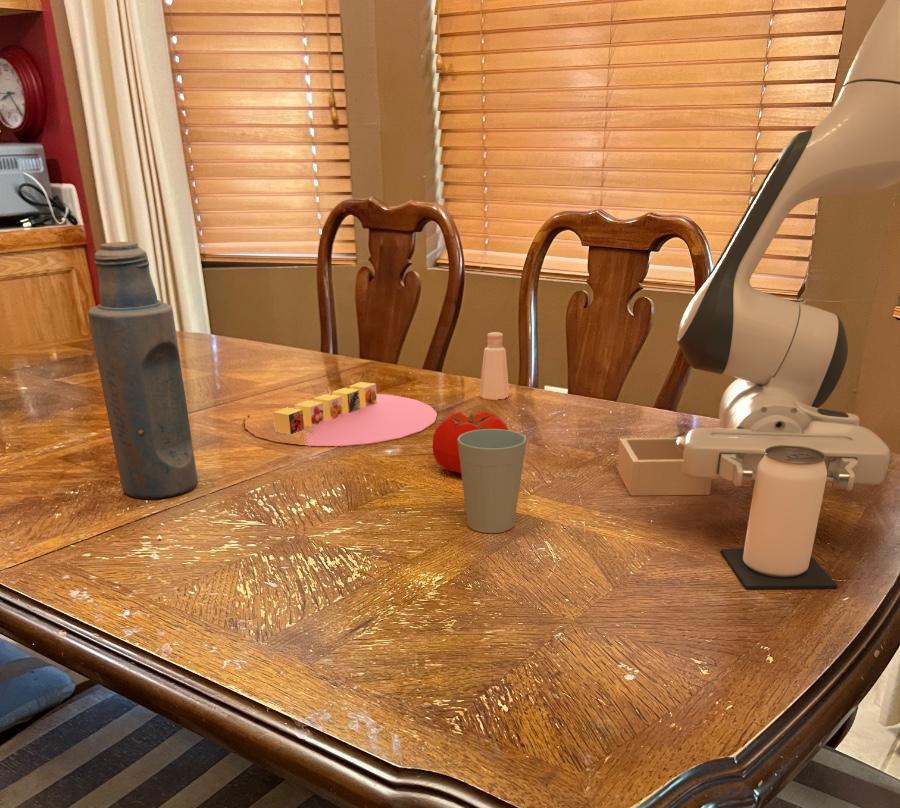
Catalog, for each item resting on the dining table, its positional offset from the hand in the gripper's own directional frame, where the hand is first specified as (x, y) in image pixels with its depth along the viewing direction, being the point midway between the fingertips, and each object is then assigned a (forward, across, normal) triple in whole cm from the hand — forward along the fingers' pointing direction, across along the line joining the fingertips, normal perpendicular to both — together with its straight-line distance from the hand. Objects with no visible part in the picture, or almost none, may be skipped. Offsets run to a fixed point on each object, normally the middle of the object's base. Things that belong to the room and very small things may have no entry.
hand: (794, 481), depth 84 cm
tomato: (-29, -36, +10) cm, 47 cm away
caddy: (-27, -10, +10) cm, 30 cm away
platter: (-52, -61, +10) cm, 81 cm away
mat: (-1, 0, +10) cm, 10 cm away
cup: (-9, -31, +10) cm, 34 cm away
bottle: (-16, -75, +10) cm, 78 cm away
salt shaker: (-69, -37, +10) cm, 79 cm away
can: (-1, 0, +10) cm, 10 cm away
